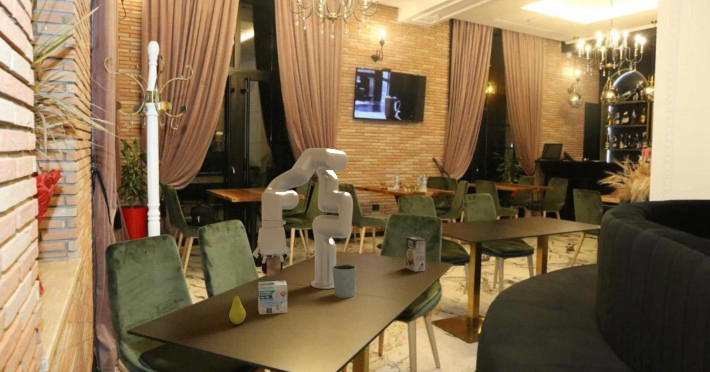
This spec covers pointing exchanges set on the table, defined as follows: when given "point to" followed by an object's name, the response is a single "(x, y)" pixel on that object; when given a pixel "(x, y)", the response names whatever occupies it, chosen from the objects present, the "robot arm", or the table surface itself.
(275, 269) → the walnut block
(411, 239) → the coffee box
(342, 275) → the blue cup
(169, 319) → the table surface
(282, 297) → the light bulb box
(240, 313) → the fruit
